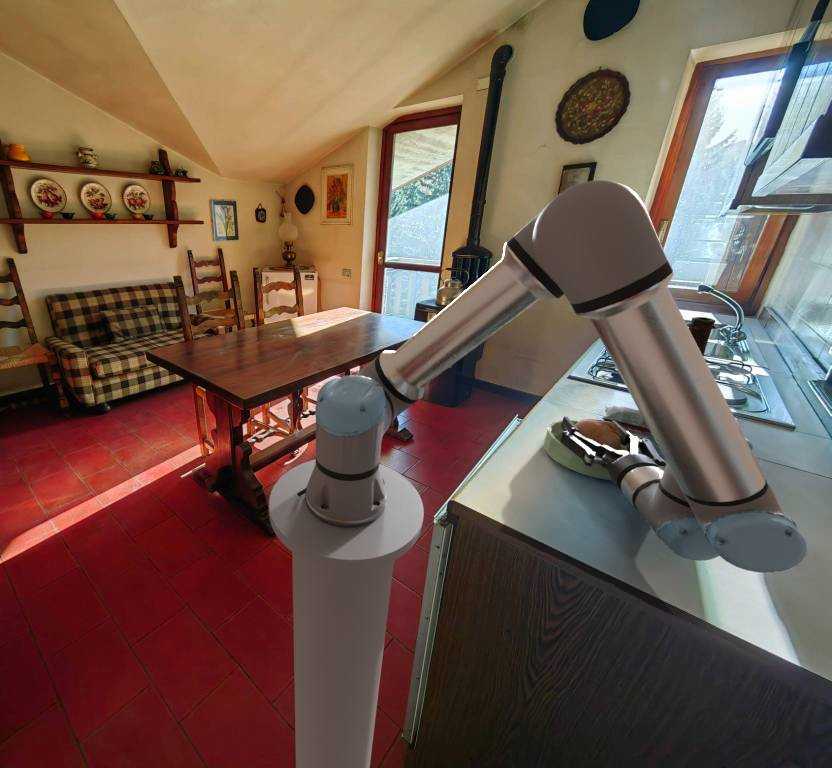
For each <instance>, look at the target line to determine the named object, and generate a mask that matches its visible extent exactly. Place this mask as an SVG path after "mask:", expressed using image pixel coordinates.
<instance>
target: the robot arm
mask: <svg viewBox="0 0 832 768" xmlns="http://www.w3.org/2000/svg"><path fill="white" fill-rule="evenodd" d="M502 252H503V253H502V258H501V259H500V260H499V261H498V262H497V263H496V264H494V265H493V266H492V267H491V268H489V270H488V271H487V272H485V273H484V274H483V275H482V276H481V277H479V278H478V279H477V280H476V281H475V282H474V283H472V284H471V285H470V286H469V287H468V288H467V289H465V290H464V291H463V292H462V293H461V294H460V295H458V297H456V298H455V299H454V300H453V301H452V302H451V303H449V304H448V305H447V306H446V307H445V308H443V309H442V310H441V311H440V312H439V313H438V314H437V315H435V316H434V317H433V318H432V319H431V320H430V321H429V322H427V323H426V324H425V325H424V326H423V327H422V328H420V329H419V330H418V331H417V332H416V333H415V334H414V335H413V336H411V337H410V338H409V339H408V340H406V342H404V343H403V344H402V345H400V346H399V347H398V348H397V349H396V350H384V351H382V352H381V353H379V354H378V355H377V357H375V358H374V359H373V360H372V361H371V362H369V363H368V364H366V365H365V366H364V367H363V368H362V369H361V370H360V371H359V372H358V373H357V374H355V375H352V374H350V375H343V376H341V377H335V378H333V379H330V380H328V381H327V382H325V383H324V384H323V385H322V386H321V387H320V388H319V390H318V393H317V395H316V404H315V408H314V415H315V459H316V464H315V467H314V469H313V472H312V474H311V477H310V479H309V482H308V484H307V488H305V489H304V490H302V491H300V492H299V493H297V495H298V496H301V495H303V494H305V493H306V505H307V507H308V509H309V511H310V512H311V513H312V514H313V515H314V516H315V517H316V518H317V519H319V520H321V521H322V522H324V523H327V524H329V525H333V526H337V527H343V528H354V527H361V526H365V525H368V524H370V523H372V522H374V521H375V520H377V519H378V518H379V517H380V516H381V515H382V514H383V512H384V510H385V506H386V490H385V487H386V486H385V487H384V485H385V483H384V480H383V478H382V476H381V473H380V469H379V464H380V460H381V450H382V440H383V437H384V435H385V433H386V432H387V431H388V429H389V428H390V426H391V425H392V423H393V422H394V421H395V419H396V418H397V417H399V416H400V415H401V414H402V413H404V412H405V411H406V410H408V409H410V407H411V406H413V405H414V404H415V403H417V402H418V401H420V400H421V399H423V397H424V395H425V386H426V385H428V384H429V383H430V382H432V381H433V380H434V379H436V378H438V377H439V376H440V375H441V374H443V373H444V372H445V371H446V370H448V369H449V368H451V367H452V366H453V365H455V364H456V363H457V362H458V361H460V360H461V359H462V358H464V357H465V356H467V355H468V354H470V353H471V352H472V351H474V350H475V349H476V348H477V347H479V346H480V345H482V343H484V342H485V341H487V340H488V339H490V338H491V337H492V336H493V335H495V334H497V332H498V331H500V330H502V329H503V328H504V327H505V326H506V325H508V324H509V323H511V322H512V321H513V320H515V319H516V318H517V317H519V316H521V315H522V314H523V313H524V312H526V311H527V310H528V309H530V308H531V307H532V306H533V305H535V304H536V303H538V302H539V301H557V300H559V299H560V298H561V297H562V296H564V295H565V298H566V299H567V300H568V302H569V304H570V306H571V307H572V310H573V312H574V313H575V315H576V316H578V317H583V318H586V319H588V320H590V322H591V324H592V325H593V327H594V329H595V331H596V333H597V335H598V337H599V339H600V341H601V342H602V345H603V346H604V348H605V349H606V352H607V353H608V355H609V357H610V359H611V361H612V363H613V364H614V366H615V368H616V370H617V372H618V374H619V376H620V378H621V380H622V381H623V383H624V385H625V387H626V389H627V390H628V393H629V395H630V396H631V398H632V400H633V402H634V403H635V405H636V407H637V410H639V411H640V413H641V415H642V417H643V418H644V420H645V422H646V424H647V426H648V428H649V430H650V431H651V433H652V434H651V435H652V437H653V439H654V441H655V442H656V444H657V446H658V448H659V450H660V452H661V453H662V455H663V457H664V458H663V457H661V455H660V454H659V453H658V451H657V449H656V448H655V446H654V445H653V443H652V441H651V440H650V439H648V438H644V437H643V438H642V439H639V437H638V436H637V435H636V436H635V435H633V433H631V432H630V431H629V430H626V429H623V428H622V427H621V426H620V425H619V424H618V423H617V422H616V421H611V422H612V423H614V424H615V426H616V427H617V429H618V431H619V432H620V434H621V435H619V436H620V439H621V444H622V445H624V446H627V443H628V447H627V451H623V450H621V451H618V450H614V449H612V448H610V447H609V446H607V445H600V444H598V443H597V442H595V441H593V440H591V439H589V438H587V437H585V436H584V435H582V434H580V433H578V432H579V429H578V428H577V427H576V426H575V425H574V424H573V423H572V421H571V420H572V419H570V418H569V417H568V416H564V415H563V417H562V420H563V421H562V424H561V427H562V429H563V433H562V436H561V439H560V442H561V443H562V444H564V445H565V446H566V447H567V448H568V449H570V450H571V451H572V452H573V453H575V454H576V455H577V456H578V457H579V458H581V459H582V460H583V462H584V464H585V465H586V466H592V464H593V463H595V464H601V466H602V467H604V468H606V469H607V470H608V472H609V474H610V477H611V479H612V480H611V482H613V483H614V485H615V486H616V487H617V488H618V489H619V490H620V492H621V493H622V494H623V495H624V496H625V497H626V499H627V500H628V501H629V502H630V503H631V505H632V506H633V507H634V508H635V509H636V510H637V511H638V513H639V514H640V515H641V516H642V518H643V520H645V522H646V523H647V524H648V525H649V526H650V528H651V530H653V532H654V533H655V534H656V537H657V538H658V539H659V540H661V541H662V542H663V544H665V545H666V547H668V548H669V549H670V550H671V552H672V553H674V554H675V555H677V556H678V557H681V558H682V559H685V560H689V561H697V562H703V561H710V560H714V559H716V558H718V557H720V558H721V559H722V560H724V561H725V562H727V563H729V564H730V565H732V566H734V567H736V568H739V569H742V570H745V571H748V572H753V573H760V574H761V573H763V574H764V573H766V574H767V573H775V572H784V571H787V570H790V569H792V568H794V567H796V566H798V565H799V564H800V563H801V562H802V561H803V560H804V558H805V557H806V555H807V551H808V549H807V548H808V546H807V542H806V539H805V537H804V536H803V534H802V533H801V531H800V530H799V528H798V526H797V524H796V522H795V521H794V520H793V519H792V518H790V517H789V516H788V515H787V514H786V513H785V512H784V511H785V510H783V508H782V507H781V505H780V503H779V501H778V499H777V497H776V496H775V493H774V491H773V489H772V487H771V486H770V484H769V483H768V480H767V479H766V476H765V474H764V472H763V470H762V468H761V466H760V464H759V462H758V460H757V458H756V456H755V455H754V452H753V449H754V446H753V443H752V442H751V441H750V440H749V439H748V438H747V437H746V436H745V435H744V433H743V431H742V429H741V428H740V427H741V426H740V425H739V424H738V421H737V419H736V418H735V416H734V414H733V412H732V410H731V408H730V406H729V404H728V402H727V400H726V398H725V396H724V394H723V392H722V390H721V388H720V386H719V385H718V384H719V383H717V381H716V379H715V376H714V374H713V373H712V371H711V369H710V367H709V365H708V363H707V361H706V359H705V357H703V355H702V353H701V351H700V349H699V348H698V346H697V344H696V342H695V340H694V338H693V336H692V334H691V332H690V330H689V327H688V326H687V324H686V323H687V322H686V321H685V319H684V317H683V315H682V313H681V311H680V309H679V307H678V305H677V303H676V301H675V299H674V297H673V295H672V293H671V291H670V290H669V284H670V283H671V280H672V279H673V277H674V275H675V270H674V269H673V266H672V265H671V263H670V262H669V260H668V257H667V255H666V253H665V250H664V248H663V245H662V244H661V241H660V239H659V235H658V234H657V232H656V229H655V226H654V224H653V222H652V220H651V217H650V214H649V212H648V210H647V207H646V205H645V204H644V201H642V199H641V198H640V196H639V195H638V194H637V193H636V192H635V191H634V190H633V189H632V188H631V187H628V186H627V185H625V184H622V183H620V182H617V181H613V180H608V179H595V180H589V181H584V182H579V183H577V184H575V185H573V186H570V187H568V188H567V189H565V190H564V191H561V192H560V193H559V194H557V195H556V196H555V197H554V198H552V199H551V200H550V201H549V202H548V203H547V205H546V206H545V207H544V208H543V209H542V210H541V211H540V212H538V213H537V214H536V215H535V216H534V217H533V218H532V219H531V220H529V222H527V223H526V224H525V225H524V226H523V227H522V228H520V230H518V231H517V232H516V233H514V235H512V237H510V239H508V240H507V241H506V242H505V243H504V244H503V251H502ZM638 448H639V450H640V452H641V453H642V454H638ZM605 451H606V452H605ZM604 453H605V454H604Z"/></svg>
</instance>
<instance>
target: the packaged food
mask: <svg viewBox="0 0 832 768" xmlns="http://www.w3.org/2000/svg"><path fill="white" fill-rule="evenodd" d="M604 408H605V409H604V412H605V416H603V417H602V420H605V421H609V422H611V421H616V422H617V423H618V424H619V425H620V426H621V427H622V428H623V429H625V430H626V431H631V432H634V433H640V434H646V435H647V434H649V435H652V433H651V431H650V430H649V428H648V426H647V424H646V422H645V420H644V418H643V417H642V415H641V413H640V411H639V409H634V408H630V407H627V406H619V405H618V406H617V405H616V406H615V405H613V406H606V405H604Z"/></svg>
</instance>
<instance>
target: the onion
mask: <svg viewBox="0 0 832 768" xmlns="http://www.w3.org/2000/svg"><path fill="white" fill-rule="evenodd" d="M578 421H579V422H578V423H576V424H575V426H576V427H577V428H578V429H579V432H578V433H580V434H582V435H584V436H585V437H587V438H589V439H591V440H593V441H595V442H597V443H598V444H600V445H607V446H609V447H610V448H612V449H614V450H619V448H620V444H621V439H620V436H619V435H621V434H620V432H619V431H618V429H617V427H616V426H615V424H614V423H612V422H609V421H605V420H604V419H595V418H586V419H582V420H581V419H580V420H578ZM605 452H606V451H605ZM604 454H605V453H604Z"/></svg>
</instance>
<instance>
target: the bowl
mask: <svg viewBox="0 0 832 768" xmlns="http://www.w3.org/2000/svg"><path fill="white" fill-rule="evenodd" d="M570 420H571V421H572V423H573V424H574V425H575V424H576V423H578V422H579V421H580V420H578V419H577V420H575V419H570ZM562 421H563V419H562V420H557V421H554V422H552V423H551V424H549V425H548V426H547V429H546V434H545V437H544V440H543V449H544V451H545V452H546V454H547V455H548V456H549V457H550V458H552V460H553V461H555V462H557V463H558V464H560V465H562V466H563V467H565V468H567V469H569V470H571V471H574V472H577V473H579V474H581V475H585V476H588V477H593V478H596V479H599V480H600V479H601V480H609V481H612V479H611V477H610V474H609V472H608V470H607V469H606V468H604V467H602V466H601V464H595V463H593V464H592V466H586V465H585V464H584V462H583V460H582V459H581V458H579V457H578V456H577V455H576V454H575V453H573V452H572V451H571V450H570V449H568V448H567V447H566V446H565V445H564V444H562V443H561V442H560V439H561V436H562V433H563V429H562V427H561V424H562ZM627 447H628V443H627V446H624V445H622V444H620V448H619V450H618V451H621V450H623V451H627ZM638 454H642V453H641V452H640V450H639V448H638Z"/></svg>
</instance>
